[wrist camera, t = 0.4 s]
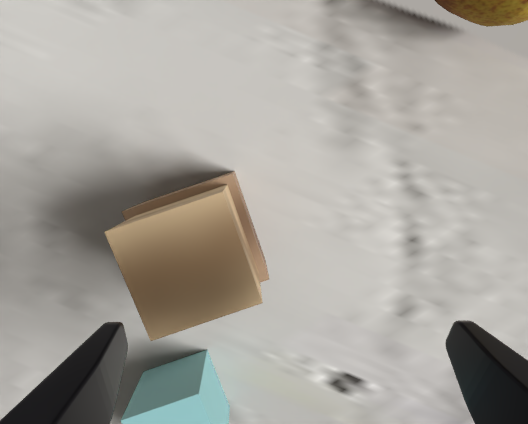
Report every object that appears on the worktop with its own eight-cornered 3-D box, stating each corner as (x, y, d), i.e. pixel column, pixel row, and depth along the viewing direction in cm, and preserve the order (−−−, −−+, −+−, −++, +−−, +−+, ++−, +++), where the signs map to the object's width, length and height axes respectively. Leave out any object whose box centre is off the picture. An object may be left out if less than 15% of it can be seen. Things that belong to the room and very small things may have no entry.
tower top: (258, 272, 19) (262, 302, 15) (170, 302, 19) (150, 341, 15) (227, 184, 18) (222, 191, 14) (135, 215, 18) (104, 232, 14)
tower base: (264, 258, 23) (269, 279, 19) (178, 288, 23) (164, 315, 19) (234, 171, 22) (232, 173, 18) (143, 201, 22) (121, 211, 18)
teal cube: (229, 405, 24) (226, 461, 20) (168, 426, 24) (151, 487, 20) (207, 349, 23) (198, 393, 19) (143, 370, 23) (120, 420, 19)
